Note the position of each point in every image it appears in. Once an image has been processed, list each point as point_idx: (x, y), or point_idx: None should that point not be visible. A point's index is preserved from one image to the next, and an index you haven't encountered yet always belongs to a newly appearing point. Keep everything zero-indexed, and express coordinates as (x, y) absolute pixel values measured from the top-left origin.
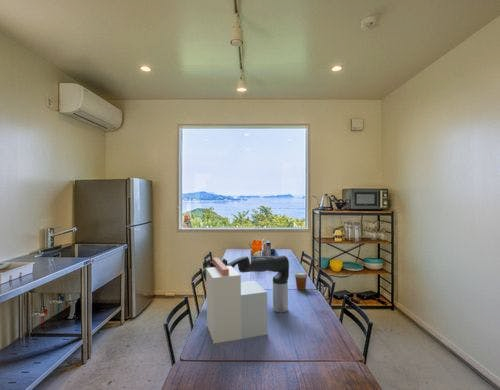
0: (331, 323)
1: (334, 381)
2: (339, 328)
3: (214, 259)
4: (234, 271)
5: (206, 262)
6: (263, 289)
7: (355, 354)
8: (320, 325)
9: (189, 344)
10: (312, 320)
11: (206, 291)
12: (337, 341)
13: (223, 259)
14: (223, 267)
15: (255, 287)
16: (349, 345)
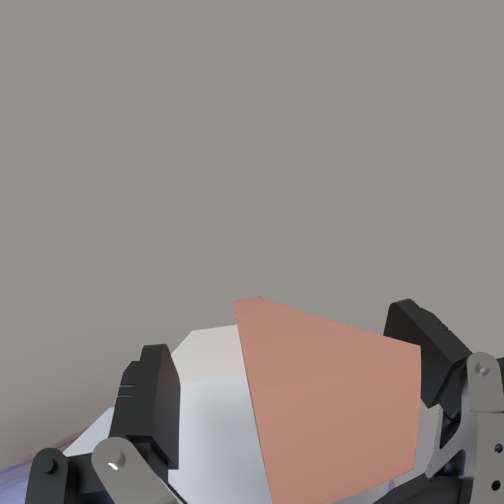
0: (6, 474)
1: None
2: (17, 462)
3: (327, 323)
4: (193, 341)
5: (479, 357)
6: (100, 419)
7: (80, 432)
8: (25, 482)
9: (394, 483)
10: (12, 497)
11: (386, 490)
12: (63, 451)
13: (168, 355)
14: (251, 300)
15: (107, 436)
16: (62, 442)
